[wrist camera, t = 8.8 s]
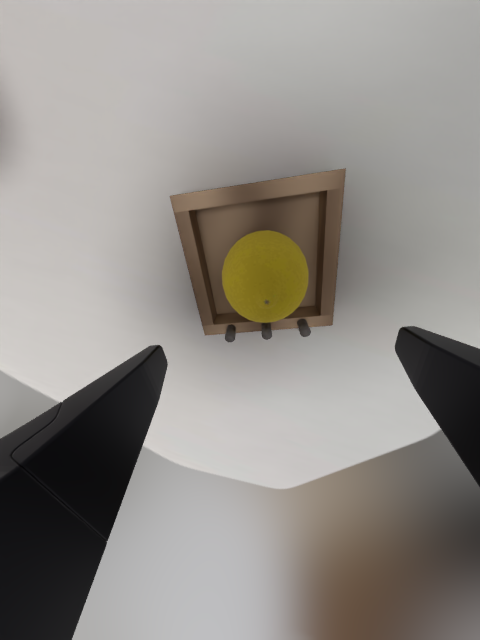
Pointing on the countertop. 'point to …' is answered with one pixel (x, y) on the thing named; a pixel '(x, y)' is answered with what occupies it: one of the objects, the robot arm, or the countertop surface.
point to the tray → (259, 215)
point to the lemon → (265, 276)
